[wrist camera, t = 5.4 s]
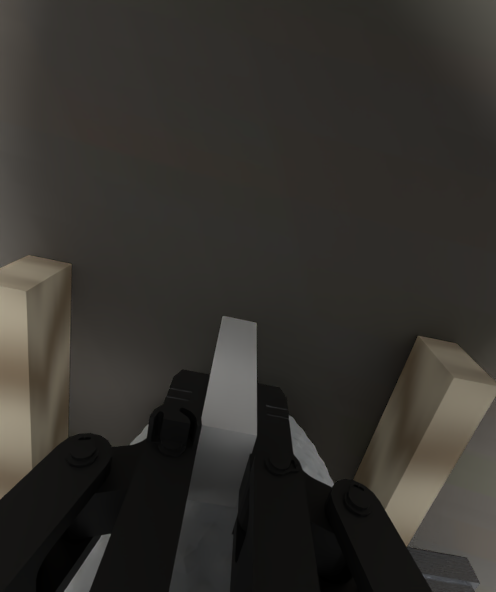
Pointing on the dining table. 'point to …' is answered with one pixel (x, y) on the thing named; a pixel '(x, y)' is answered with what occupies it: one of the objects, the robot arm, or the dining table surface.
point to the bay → (378, 457)
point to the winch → (445, 571)
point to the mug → (205, 533)
